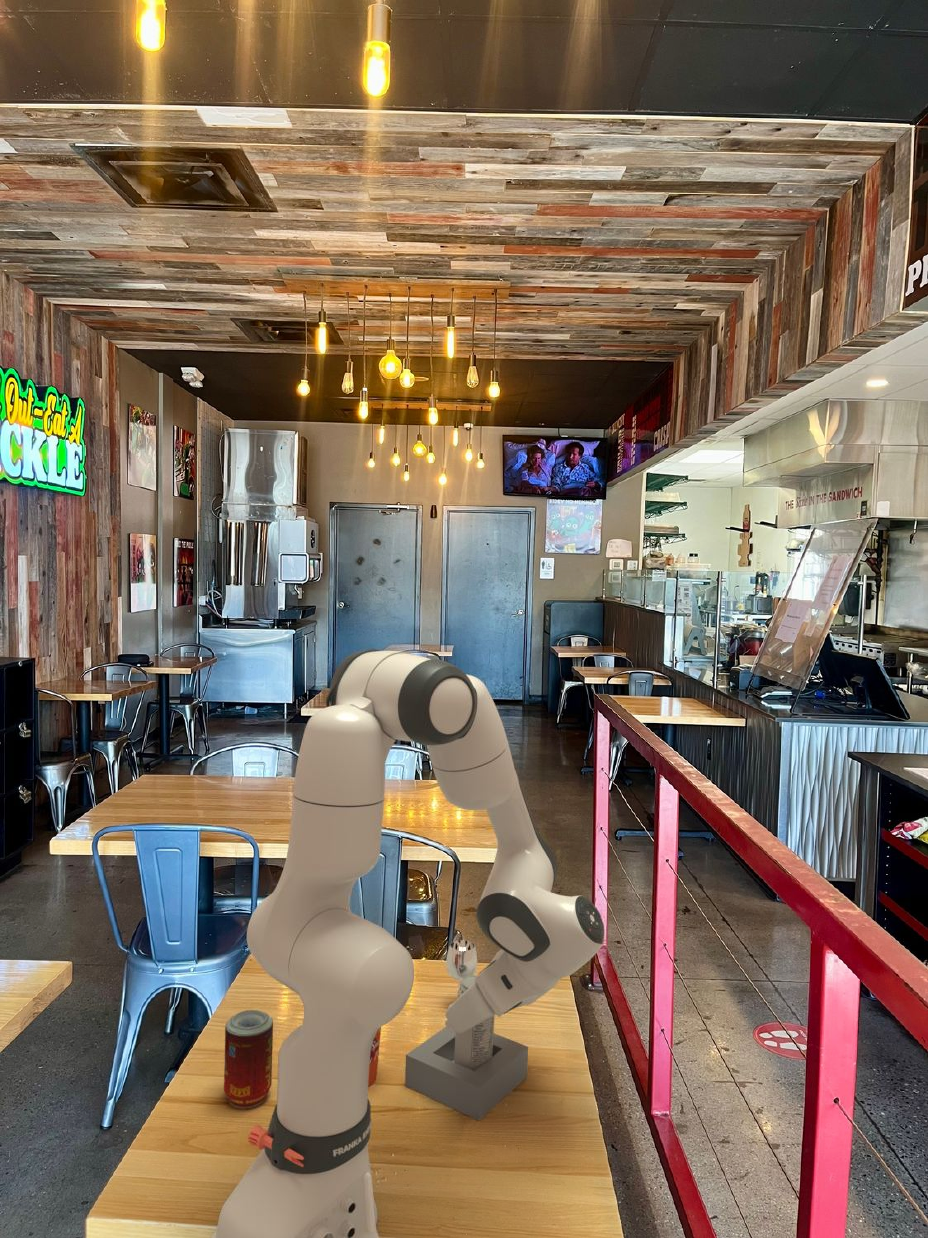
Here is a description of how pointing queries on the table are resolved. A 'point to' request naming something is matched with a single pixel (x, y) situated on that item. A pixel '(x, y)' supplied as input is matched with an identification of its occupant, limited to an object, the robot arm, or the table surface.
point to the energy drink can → (474, 1039)
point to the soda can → (248, 1058)
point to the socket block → (465, 1073)
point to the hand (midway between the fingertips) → (467, 1013)
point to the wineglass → (461, 960)
